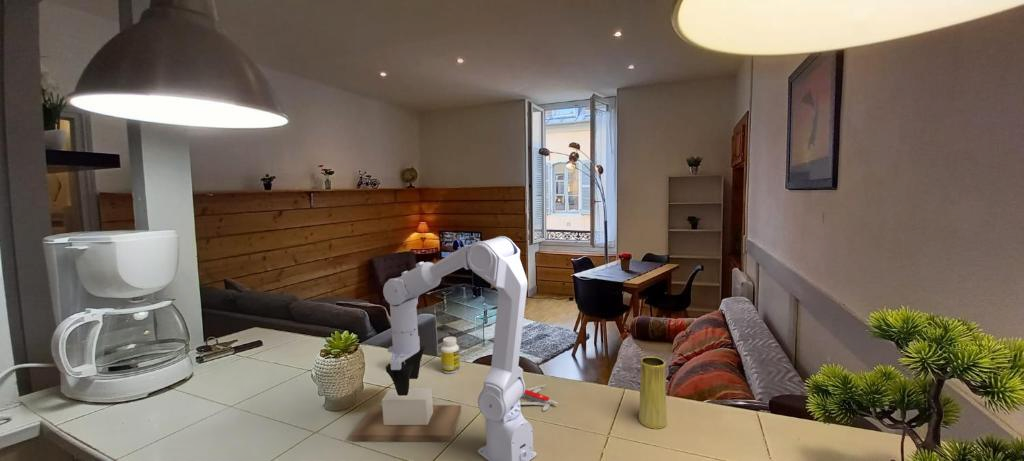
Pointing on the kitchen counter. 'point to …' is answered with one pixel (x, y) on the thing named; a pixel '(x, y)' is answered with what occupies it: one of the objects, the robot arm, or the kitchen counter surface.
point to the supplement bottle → (450, 355)
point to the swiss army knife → (536, 398)
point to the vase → (652, 393)
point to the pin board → (408, 427)
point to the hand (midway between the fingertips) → (408, 386)
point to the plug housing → (408, 407)
